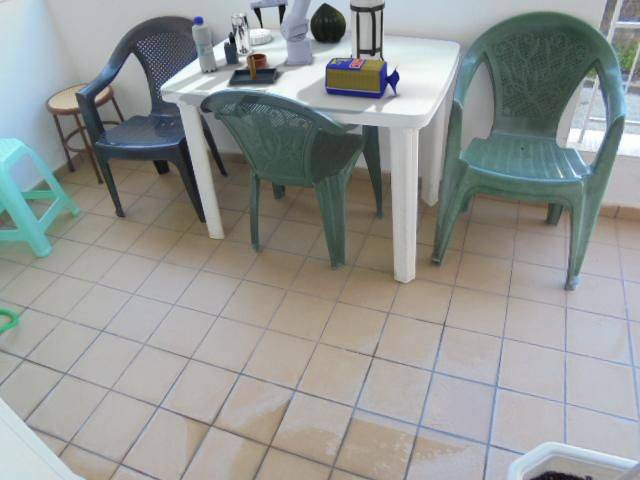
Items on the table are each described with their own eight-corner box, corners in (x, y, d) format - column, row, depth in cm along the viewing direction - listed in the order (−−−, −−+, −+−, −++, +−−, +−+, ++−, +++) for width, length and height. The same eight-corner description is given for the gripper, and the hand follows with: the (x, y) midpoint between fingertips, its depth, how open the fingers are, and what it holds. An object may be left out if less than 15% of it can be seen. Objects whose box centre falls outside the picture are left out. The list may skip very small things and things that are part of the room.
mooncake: (263, 46, 207) (261, 37, 204) (239, 43, 211) (237, 35, 209) (276, 37, 215) (275, 28, 212) (253, 34, 219) (252, 26, 217)
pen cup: (268, 63, 191) (267, 52, 188) (266, 71, 185) (264, 60, 182) (249, 64, 192) (248, 53, 189) (246, 72, 186) (244, 61, 183)
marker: (257, 77, 180) (253, 54, 174) (256, 79, 178) (252, 56, 173) (251, 77, 180) (247, 54, 175) (251, 79, 179) (247, 56, 173)
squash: (336, 35, 194) (342, -2, 194) (302, 35, 199) (308, -2, 199) (346, 50, 208) (352, 15, 208) (314, 49, 213) (319, 15, 213)
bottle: (210, 75, 186) (198, 20, 173) (197, 72, 189) (184, 18, 176) (221, 69, 190) (211, 14, 177) (208, 66, 193) (197, 13, 180)
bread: (332, 83, 172) (331, 54, 166) (401, 89, 165) (402, 58, 158) (322, 95, 165) (321, 65, 159) (394, 101, 158) (395, 70, 151)
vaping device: (238, 64, 192) (233, 33, 184) (226, 64, 193) (219, 33, 185) (240, 62, 193) (235, 31, 186) (228, 62, 194) (222, 31, 187)
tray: (277, 73, 183) (276, 68, 182) (273, 84, 175) (273, 79, 174) (235, 75, 184) (234, 69, 183) (230, 86, 176) (229, 81, 175)
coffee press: (338, 64, 186) (334, -23, 166) (364, 51, 194) (364, -33, 175) (374, 74, 176) (374, -17, 157) (400, 60, 185) (403, -28, 165)
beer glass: (234, 55, 201) (227, 17, 191) (242, 49, 205) (235, 11, 196) (248, 56, 198) (242, 17, 189) (256, 50, 203) (251, 12, 193)
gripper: (284, -16, 188) (288, 21, 197) (247, -12, 186) (252, 25, 195) (287, -11, 182) (290, 26, 191) (249, -7, 181) (254, 31, 190)
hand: (271, 26), depth 193 cm, fingers open, 7 cm apart
